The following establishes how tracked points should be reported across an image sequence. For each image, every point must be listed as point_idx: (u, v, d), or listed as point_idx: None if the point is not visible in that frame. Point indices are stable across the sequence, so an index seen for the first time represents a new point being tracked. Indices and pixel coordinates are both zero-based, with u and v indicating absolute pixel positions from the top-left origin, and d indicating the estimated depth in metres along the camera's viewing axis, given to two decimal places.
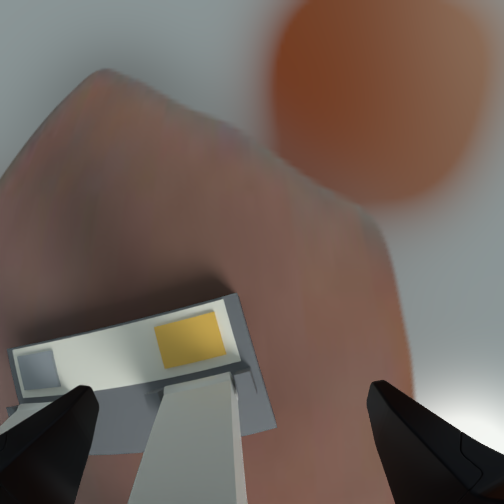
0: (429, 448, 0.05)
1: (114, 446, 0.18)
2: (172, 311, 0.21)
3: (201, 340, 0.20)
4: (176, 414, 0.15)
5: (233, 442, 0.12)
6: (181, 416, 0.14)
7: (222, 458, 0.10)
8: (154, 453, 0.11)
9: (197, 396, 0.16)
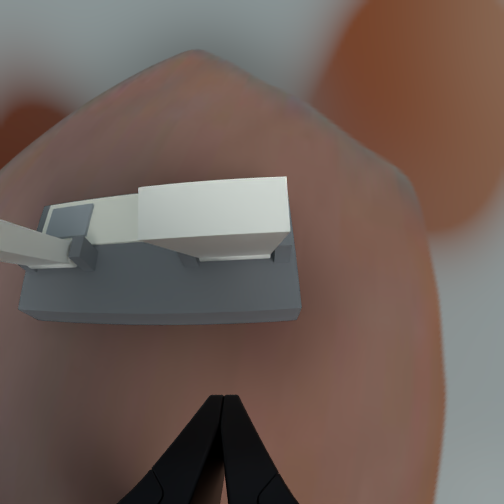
0: (229, 480, 0.05)
1: (114, 303, 0.19)
2: None
3: None
4: None
5: None
6: None
7: None
8: None
9: None
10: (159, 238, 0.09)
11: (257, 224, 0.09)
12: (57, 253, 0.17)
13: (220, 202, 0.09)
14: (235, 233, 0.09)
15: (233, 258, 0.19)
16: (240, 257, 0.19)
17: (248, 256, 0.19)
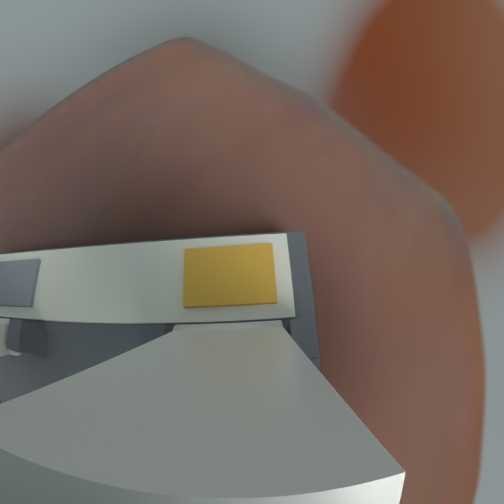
0: None
1: None
2: (215, 237, 0.16)
3: (246, 276, 0.15)
4: (189, 340, 0.09)
5: None
6: (198, 342, 0.09)
7: (291, 374, 0.05)
8: (127, 363, 0.06)
9: (229, 333, 0.11)
10: None
11: None
12: None
13: None
14: None
15: None
16: None
17: None
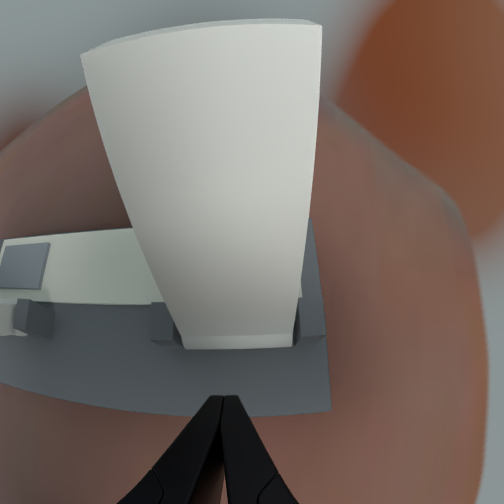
0: (229, 479, 0.05)
1: (76, 389, 0.13)
2: None
3: None
4: None
5: None
6: None
7: None
8: None
9: None
10: (111, 48, 0.04)
11: (268, 23, 0.04)
12: None
13: (215, 23, 0.05)
14: (232, 26, 0.04)
15: (234, 341, 0.12)
16: (245, 339, 0.12)
17: (258, 336, 0.12)
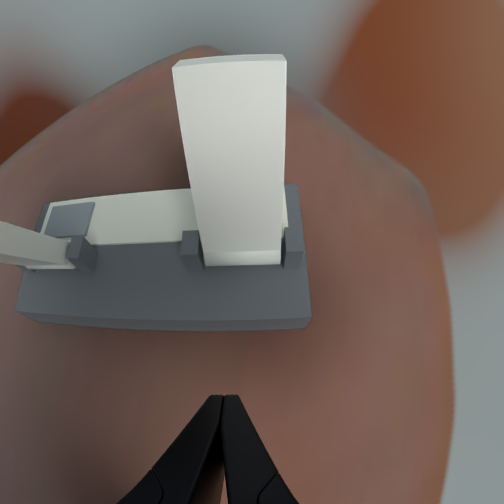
0: (229, 480, 0.05)
1: (114, 307, 0.18)
2: None
3: None
4: None
5: None
6: None
7: None
8: None
9: None
10: (188, 66, 0.10)
11: (262, 59, 0.10)
12: (54, 254, 0.16)
13: (236, 57, 0.11)
14: (246, 61, 0.10)
15: (240, 256, 0.18)
16: (248, 253, 0.18)
17: (257, 252, 0.18)
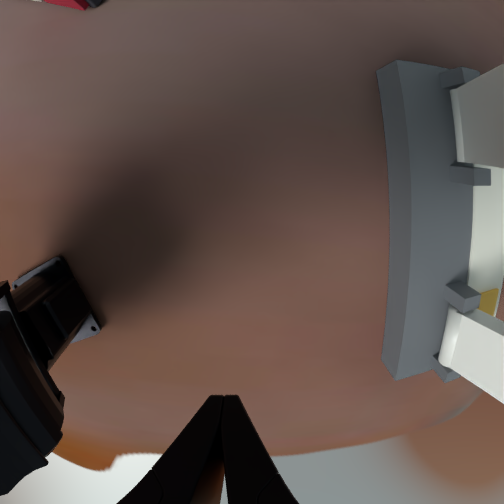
0: (229, 480, 0.05)
1: (421, 215, 0.16)
2: None
3: None
4: None
5: None
6: None
7: None
8: None
9: None
10: None
11: None
12: None
13: None
14: None
15: (452, 341, 0.17)
16: (453, 346, 0.17)
17: (452, 352, 0.17)
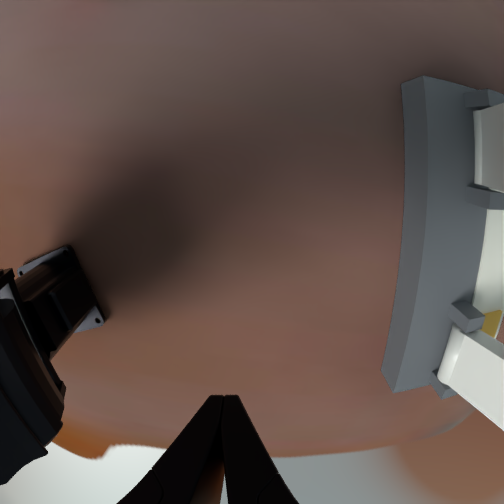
0: (229, 480, 0.05)
1: (434, 234, 0.16)
2: None
3: None
4: None
5: None
6: None
7: None
8: None
9: None
10: None
11: None
12: None
13: None
14: None
15: (453, 359, 0.17)
16: (452, 364, 0.17)
17: (451, 370, 0.17)
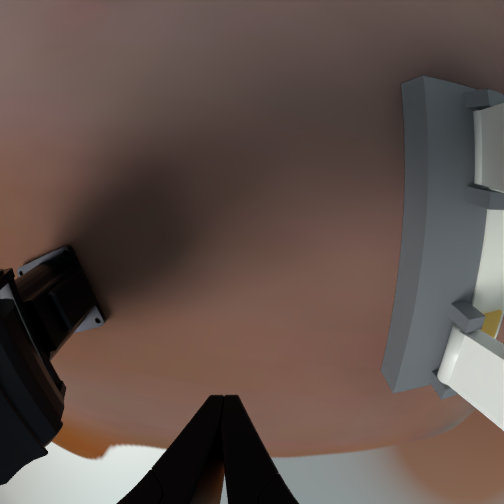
0: (229, 480, 0.05)
1: (434, 234, 0.16)
2: None
3: None
4: None
5: None
6: None
7: None
8: None
9: None
10: None
11: None
12: None
13: None
14: None
15: (453, 359, 0.17)
16: (452, 365, 0.17)
17: (451, 370, 0.17)
